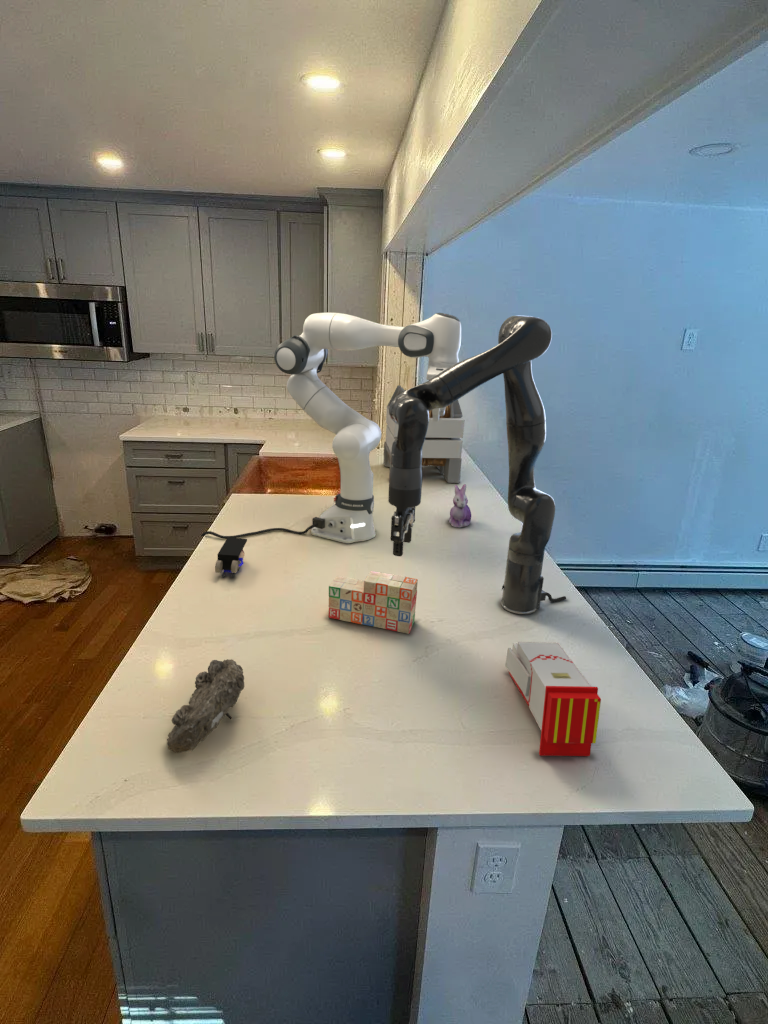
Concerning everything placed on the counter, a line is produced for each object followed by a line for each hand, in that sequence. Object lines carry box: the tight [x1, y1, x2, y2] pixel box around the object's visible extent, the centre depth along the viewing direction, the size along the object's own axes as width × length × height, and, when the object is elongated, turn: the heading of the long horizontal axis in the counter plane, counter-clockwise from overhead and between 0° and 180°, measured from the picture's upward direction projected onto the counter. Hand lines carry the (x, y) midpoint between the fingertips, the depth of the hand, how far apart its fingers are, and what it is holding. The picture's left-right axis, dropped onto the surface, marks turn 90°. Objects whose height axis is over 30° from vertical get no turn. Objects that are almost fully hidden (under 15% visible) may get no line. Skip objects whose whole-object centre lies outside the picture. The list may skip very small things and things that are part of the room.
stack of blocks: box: [328, 570, 419, 634], centre depth 142 cm, size 21×6×12 cm, turn 74°
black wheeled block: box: [214, 537, 248, 578], centre depth 166 cm, size 7×8×15 cm
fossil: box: [166, 658, 245, 754], centre depth 106 cm, size 22×10×15 cm
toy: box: [505, 641, 602, 757], centre depth 113 cm, size 12×13×30 cm
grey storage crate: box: [383, 384, 465, 484], centre depth 268 cm, size 34×33×41 cm
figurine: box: [448, 483, 472, 528], centre depth 209 cm, size 9×10×15 cm
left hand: (438, 418), depth 172 cm, fingers open, 8 cm apart
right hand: (402, 548), depth 135 cm, fingers open, 8 cm apart
